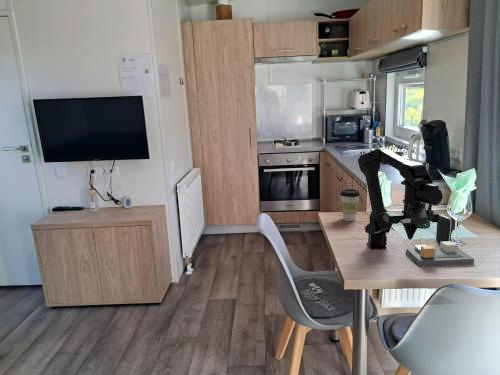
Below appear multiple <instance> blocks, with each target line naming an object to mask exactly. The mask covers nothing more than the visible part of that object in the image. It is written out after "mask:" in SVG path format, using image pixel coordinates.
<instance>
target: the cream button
mask: <svg viewBox="0 0 500 375" xmlns="http://www.w3.org/2000/svg"><path fill="white" fill-rule="evenodd" d="M451 241H452V240H451ZM451 241H443V242H440V241H439V242H440V243H439V244H440V246H439V247H440V249H441V250H442V251H444V252H445V253H447V252H456V247H457V244H455V243H454V242H453V241H452V242H451Z"/></svg>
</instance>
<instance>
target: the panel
mask: <svg viewBox="0 0 500 375" xmlns="http://www.w3.org/2000/svg"><path fill="white" fill-rule="evenodd" d="M433 247H434V248H435V257H430V258H424V257H423V256H421V255H420V254H419V253H418V252H417V251H416V250H415V247H412V248H411V247H410V248H406V250H405V254H406V255H407V256H408V257H409V258H410V259H412V260H413V261H414V262H415V263H416V264H417V265H418V266H419V267H429V266H430V267H431V266H432V267H433V266H435V267H436V266H454V265H455V266H459V265H461V266H462V265H474V263H475V258H473V257H472V256H470V255H469V254H467V253H466V252H465V251H463V250H462V249H461V248H459V247H457V246H456V252H447V253H445V252H444V251H442V250H441V249H440V246H436V247H435V246H433Z"/></svg>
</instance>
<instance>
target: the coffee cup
mask: <svg viewBox="0 0 500 375" xmlns="http://www.w3.org/2000/svg"><path fill="white" fill-rule="evenodd" d="M339 195H340V201H341V202H340V203H341V214H342V220H343V221H346V222H354V221H356V218H357V214H358V208H359V202H360V200H359V198H360V196H361V193H360V191H359V190H357V189H354V188H345V189H342V190H341V191H340V193H339Z"/></svg>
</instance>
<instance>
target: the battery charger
mask: <svg viewBox="0 0 500 375" xmlns="http://www.w3.org/2000/svg"><path fill="white" fill-rule="evenodd" d="M439 215H440V214H439ZM455 229H456V220H455V218H453V217H452V216H449V215H445V214H444V215H443V214H442V215H440V222H436V234H435V240H436V241H438V242H443V241H451V242H453V241H452V233H453V231H455Z"/></svg>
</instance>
